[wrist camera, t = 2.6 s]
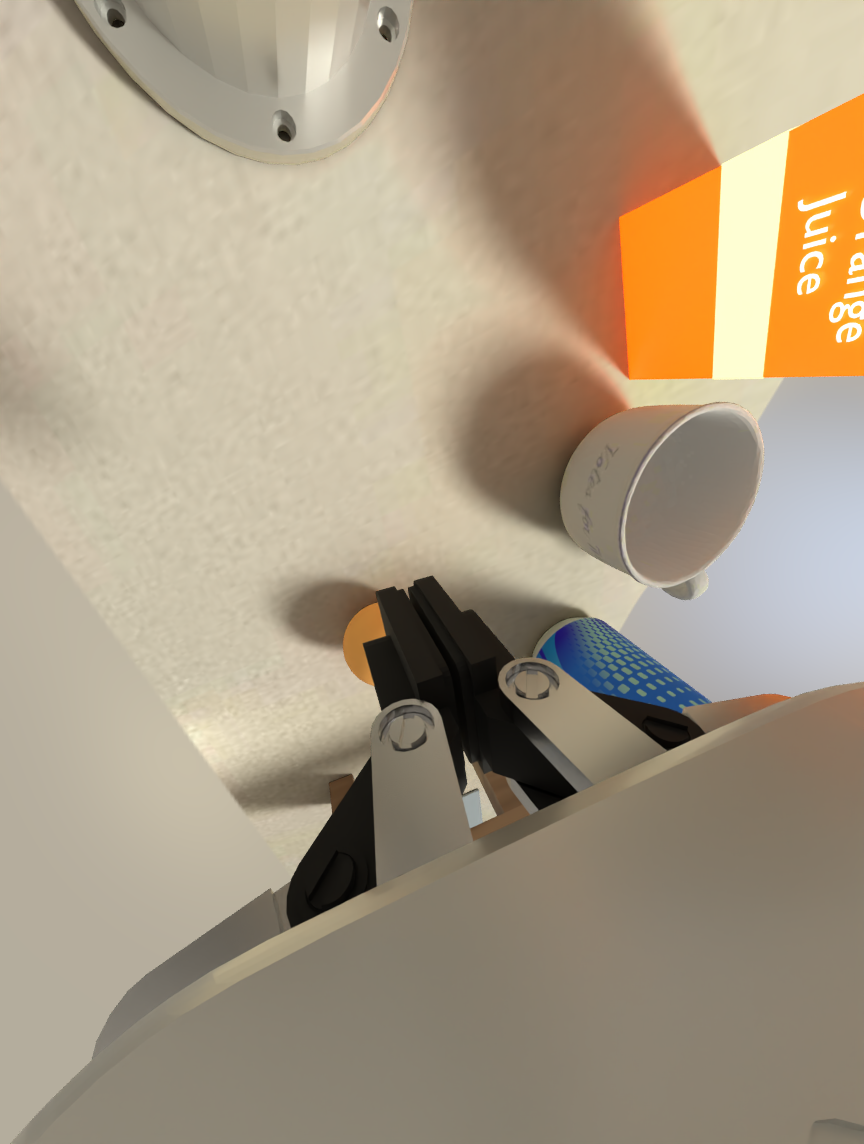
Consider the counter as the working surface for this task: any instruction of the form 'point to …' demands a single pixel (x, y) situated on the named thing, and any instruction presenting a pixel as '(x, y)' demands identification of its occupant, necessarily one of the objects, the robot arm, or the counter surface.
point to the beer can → (613, 664)
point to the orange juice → (754, 262)
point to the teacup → (664, 491)
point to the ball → (362, 640)
